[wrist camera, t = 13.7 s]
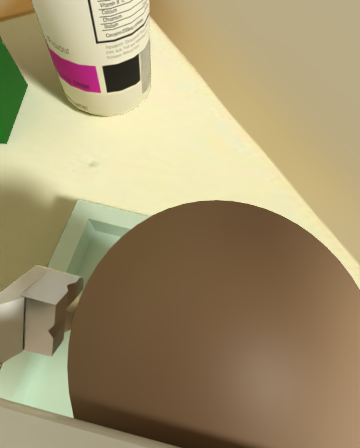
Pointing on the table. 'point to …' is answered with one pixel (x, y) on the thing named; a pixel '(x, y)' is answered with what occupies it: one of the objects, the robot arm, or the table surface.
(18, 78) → the milk carton
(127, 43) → the supplement can
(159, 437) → the walnut canister
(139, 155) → the table surface
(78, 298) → the robot arm
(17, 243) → the table surface
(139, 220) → the sage tray
